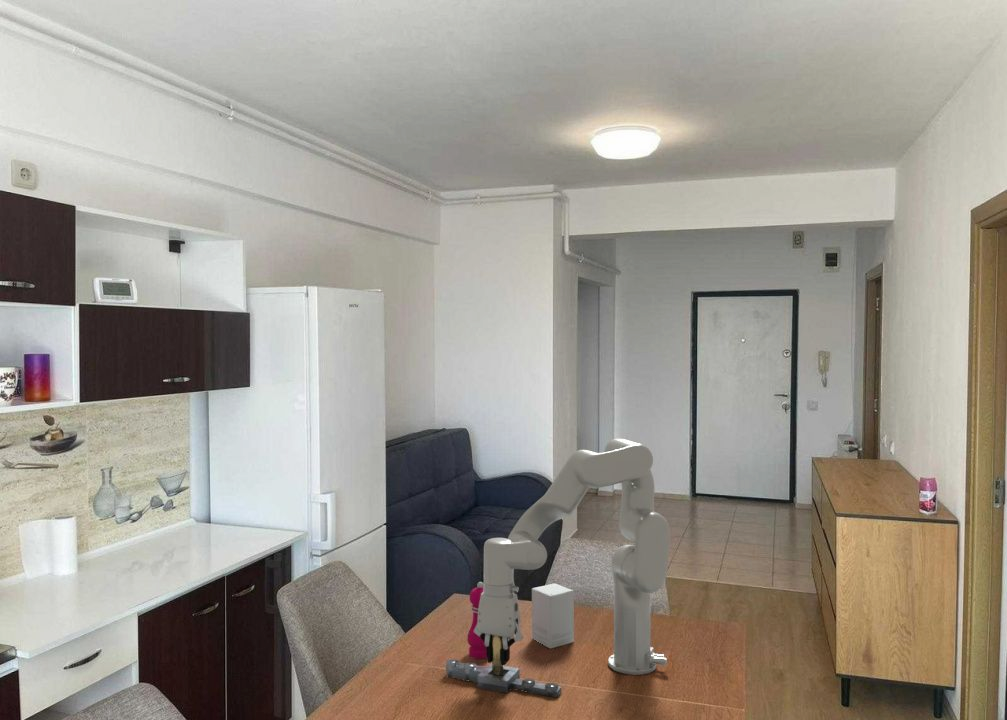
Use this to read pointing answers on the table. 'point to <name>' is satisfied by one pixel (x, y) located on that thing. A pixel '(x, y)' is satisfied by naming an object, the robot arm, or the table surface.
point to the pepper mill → (473, 639)
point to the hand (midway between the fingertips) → (498, 661)
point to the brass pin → (497, 655)
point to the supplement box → (553, 615)
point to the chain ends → (499, 678)
